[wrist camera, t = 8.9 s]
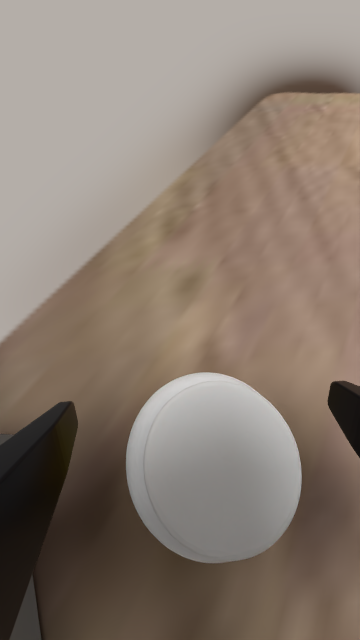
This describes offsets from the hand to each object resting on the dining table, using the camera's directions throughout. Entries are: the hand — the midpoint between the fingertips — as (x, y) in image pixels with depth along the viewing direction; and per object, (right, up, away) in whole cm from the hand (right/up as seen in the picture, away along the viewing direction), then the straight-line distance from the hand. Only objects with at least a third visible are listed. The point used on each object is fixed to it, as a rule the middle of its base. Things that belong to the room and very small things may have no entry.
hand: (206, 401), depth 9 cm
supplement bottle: (0, -5, +7) cm, 8 cm away
